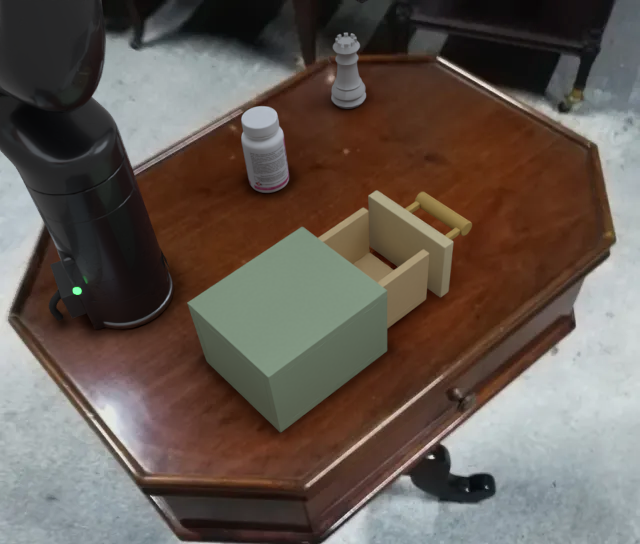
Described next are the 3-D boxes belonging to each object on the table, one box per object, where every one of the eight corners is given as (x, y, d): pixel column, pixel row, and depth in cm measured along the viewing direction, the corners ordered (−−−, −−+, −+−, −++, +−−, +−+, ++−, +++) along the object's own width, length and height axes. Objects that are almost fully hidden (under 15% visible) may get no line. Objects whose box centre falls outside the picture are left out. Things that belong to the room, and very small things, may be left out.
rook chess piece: (363, 111, 93) (361, 50, 87) (328, 109, 94) (323, 48, 87) (369, 90, 96) (367, 28, 89) (334, 88, 96) (331, 27, 90)
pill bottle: (298, 179, 87) (290, 115, 80) (267, 200, 86) (256, 136, 79) (271, 161, 89) (262, 98, 82) (241, 181, 88) (228, 118, 81)
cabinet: (309, 288, 78) (302, 225, 71) (387, 351, 73) (387, 290, 65) (206, 361, 74) (186, 302, 66) (280, 433, 68) (268, 377, 61)
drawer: (410, 217, 81) (412, 165, 75) (482, 266, 76) (490, 215, 71) (288, 303, 76) (280, 254, 70) (357, 361, 71) (355, 313, 65)
